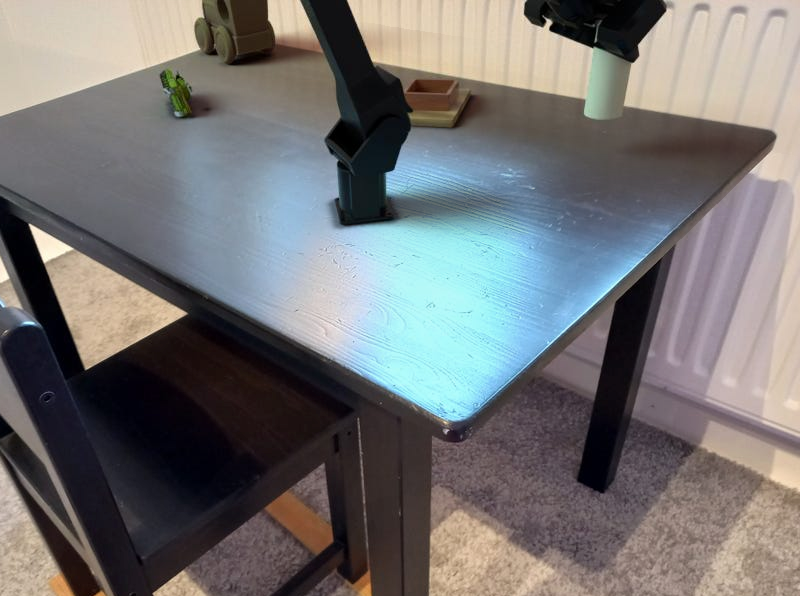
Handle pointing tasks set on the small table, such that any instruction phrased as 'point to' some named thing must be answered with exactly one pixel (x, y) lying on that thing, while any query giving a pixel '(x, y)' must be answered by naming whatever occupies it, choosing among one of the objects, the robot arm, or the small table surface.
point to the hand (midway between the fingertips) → (622, 54)
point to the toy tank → (176, 92)
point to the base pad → (435, 101)
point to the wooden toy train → (234, 28)
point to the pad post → (606, 85)
